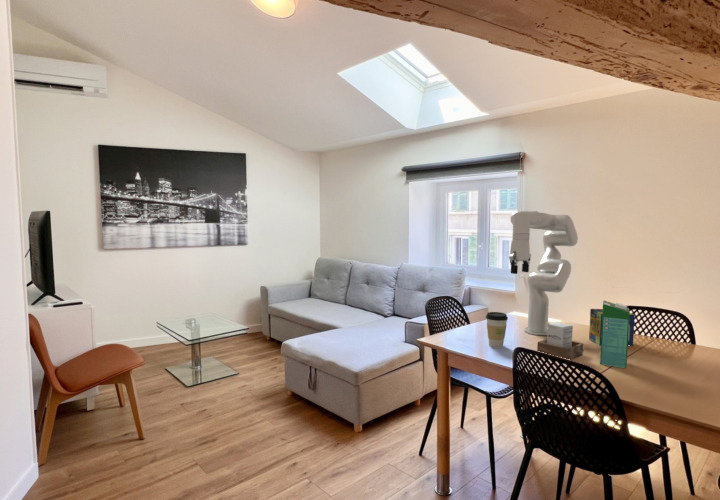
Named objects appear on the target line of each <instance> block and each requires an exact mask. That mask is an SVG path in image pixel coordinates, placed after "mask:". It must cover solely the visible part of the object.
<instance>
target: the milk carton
mask: <svg viewBox="0 0 720 500" xmlns="http://www.w3.org/2000/svg"><path fill="white" fill-rule="evenodd" d="M602 309H603V314H602V335H601V346H600V359H599V361H600V362H599V364H600V365H603V366H609V367H615V368H621V369H627V368H628V364H627V363H628V350H629V349H628V348H629V347H628V331H629V312H630V308H629V307H628V305H626V304H623V303H619V302H615V303H613V302H610V301H607V300H603V302H602Z"/></svg>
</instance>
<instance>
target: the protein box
mask: <svg viewBox="0 0 720 500" xmlns="http://www.w3.org/2000/svg"><path fill="white" fill-rule="evenodd" d="M589 310H590V311H589V332H588V333H589V335H588V340H590V341H591V342H592V343H594V344H596V345H598V346H599V347H601V335H602V314H603V308H590V309H589ZM635 317H636V315H635V314H634V313H632V312H630V311H629V331H628V345H630V346H633V347H634V336H635V335H634V332H635V331H634V330H635V319H636V318H635Z"/></svg>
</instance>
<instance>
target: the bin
mask: <svg viewBox="0 0 720 500" xmlns="http://www.w3.org/2000/svg"><path fill="white" fill-rule="evenodd" d="M536 348H537V351H540V352H544V353H547V354H551V355H554V356H558V357H562V358H566V359H570V361H572V360H574V359H577V358H579V357H581V356H583V355H584V343H583V342H578V341H573V340H572V347H571V348H568V349H566V348H562V347H558V346H554V345H550V344H547V338H545V339H542V340H539V341H537V347H536ZM537 351H536V352H537ZM576 357H577V358H576Z"/></svg>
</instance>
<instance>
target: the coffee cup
mask: <svg viewBox="0 0 720 500" xmlns="http://www.w3.org/2000/svg"><path fill="white" fill-rule="evenodd" d="M485 318H486V329H487V338H488V346H490V347H491V348H499V349H500V348H503V347H504V341H505V337H506V329H507V323H508V319H509V318H508V316H507V314H506V313H505V312H500V311H490V312H487V313H486V315H485Z"/></svg>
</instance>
